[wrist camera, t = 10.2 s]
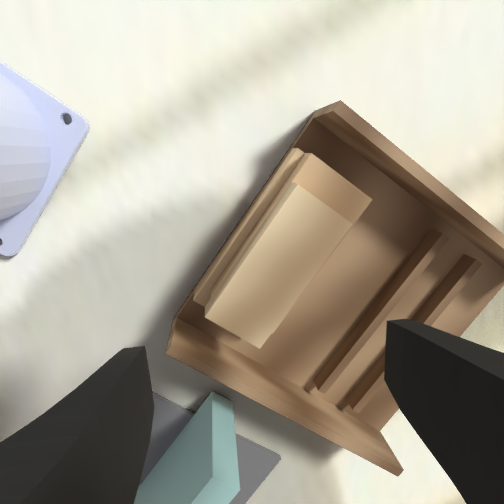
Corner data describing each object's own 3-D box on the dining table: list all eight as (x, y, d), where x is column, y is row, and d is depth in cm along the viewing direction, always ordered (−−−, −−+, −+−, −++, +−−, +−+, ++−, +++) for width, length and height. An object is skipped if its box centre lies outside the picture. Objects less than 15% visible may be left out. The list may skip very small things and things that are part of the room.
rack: (173, 318, 21) (163, 360, 16) (315, 110, 18) (345, 98, 14) (369, 427, 24) (403, 485, 20) (507, 264, 22) (577, 290, 18)
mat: (64, 448, 22) (62, 452, 22) (114, 373, 21) (113, 376, 21) (229, 518, 25) (229, 523, 25) (280, 455, 24) (280, 459, 24)
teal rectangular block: (123, 506, 23) (95, 623, 18) (212, 391, 22) (212, 476, 16) (144, 515, 24) (122, 632, 18) (232, 402, 22) (240, 490, 16)
